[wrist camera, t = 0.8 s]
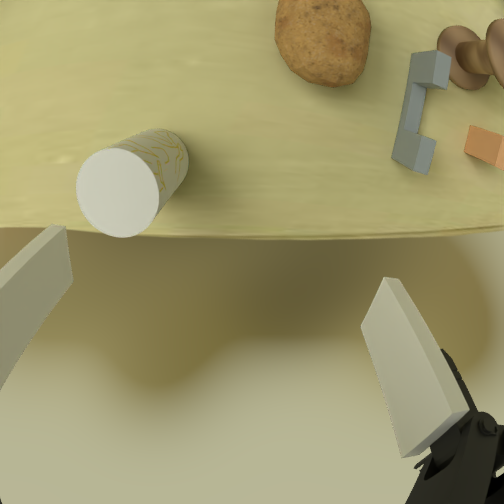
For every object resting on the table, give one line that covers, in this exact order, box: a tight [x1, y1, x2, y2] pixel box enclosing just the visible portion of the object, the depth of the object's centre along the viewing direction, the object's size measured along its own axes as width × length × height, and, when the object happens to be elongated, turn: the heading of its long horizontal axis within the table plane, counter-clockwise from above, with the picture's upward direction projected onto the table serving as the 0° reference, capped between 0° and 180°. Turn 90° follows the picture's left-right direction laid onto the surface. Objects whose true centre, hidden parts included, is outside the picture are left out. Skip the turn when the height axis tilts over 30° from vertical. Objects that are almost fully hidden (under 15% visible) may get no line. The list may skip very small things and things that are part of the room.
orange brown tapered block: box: [464, 125, 504, 170], centre depth 28 cm, size 4×4×7 cm
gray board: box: [391, 50, 452, 175], centre depth 27 cm, size 14×2×6 cm, turn 172°
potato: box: [275, 0, 371, 87], centre depth 23 cm, size 10×14×8 cm
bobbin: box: [437, 19, 504, 90], centre depth 20 cm, size 9×9×11 cm
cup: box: [76, 129, 189, 237], centre depth 29 cm, size 8×8×12 cm
